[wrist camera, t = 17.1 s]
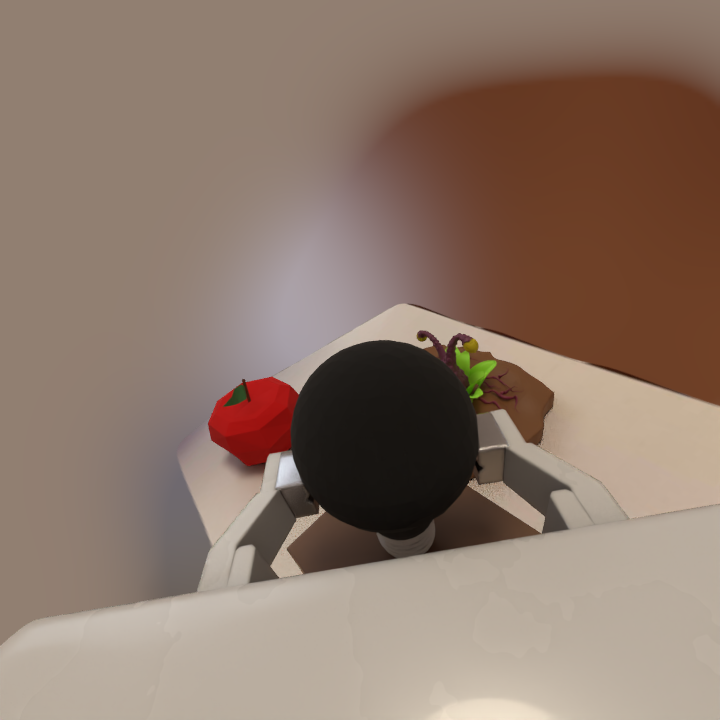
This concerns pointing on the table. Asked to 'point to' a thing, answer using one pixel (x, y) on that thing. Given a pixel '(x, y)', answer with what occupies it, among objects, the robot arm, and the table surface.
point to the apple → (254, 419)
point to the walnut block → (355, 547)
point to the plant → (496, 384)
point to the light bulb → (385, 441)
